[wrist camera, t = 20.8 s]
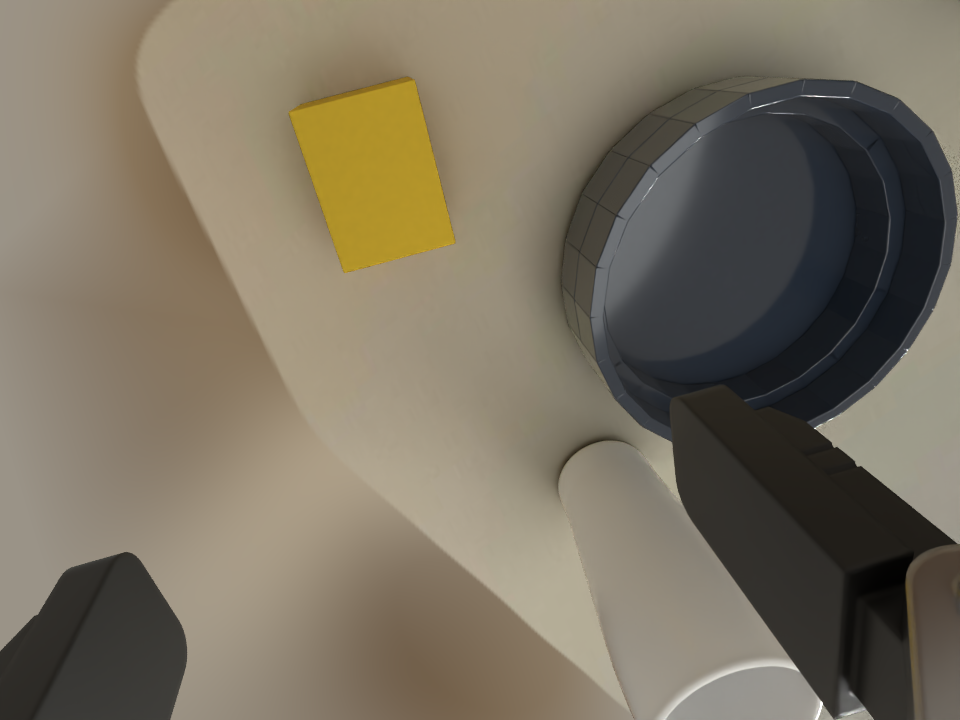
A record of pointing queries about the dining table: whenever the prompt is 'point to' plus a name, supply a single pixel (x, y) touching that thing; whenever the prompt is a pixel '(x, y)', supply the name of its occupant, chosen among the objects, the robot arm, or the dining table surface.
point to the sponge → (374, 173)
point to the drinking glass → (671, 601)
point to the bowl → (760, 247)
